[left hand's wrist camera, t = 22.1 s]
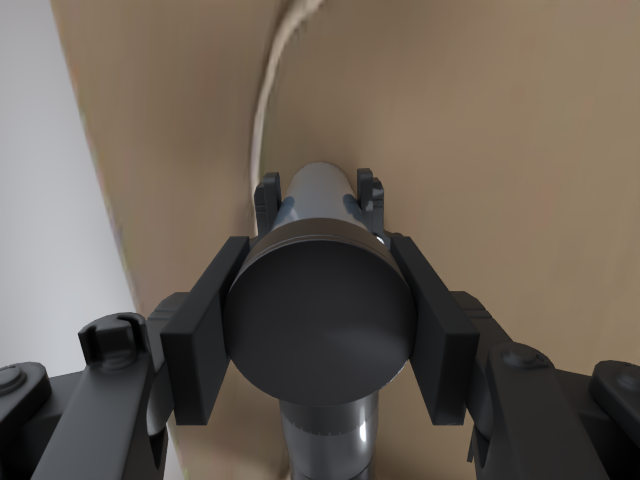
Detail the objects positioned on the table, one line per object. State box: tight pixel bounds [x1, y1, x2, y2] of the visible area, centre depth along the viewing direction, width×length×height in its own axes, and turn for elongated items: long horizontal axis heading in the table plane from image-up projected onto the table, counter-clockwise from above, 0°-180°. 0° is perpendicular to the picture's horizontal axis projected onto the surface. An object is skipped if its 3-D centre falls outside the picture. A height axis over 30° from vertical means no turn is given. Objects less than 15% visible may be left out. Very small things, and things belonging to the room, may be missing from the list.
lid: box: [222, 218, 418, 407], centre depth 11 cm, size 6×6×2 cm
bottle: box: [269, 162, 370, 233], centre depth 19 cm, size 5×5×18 cm
